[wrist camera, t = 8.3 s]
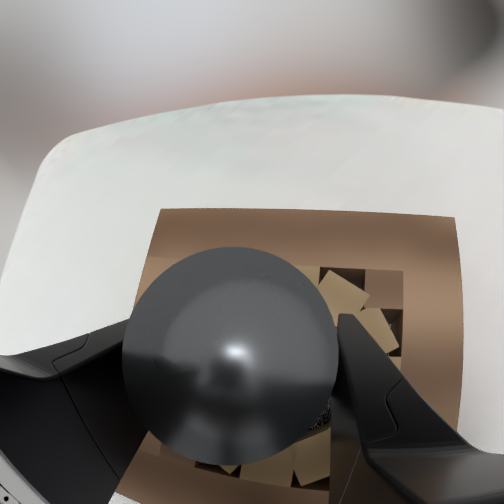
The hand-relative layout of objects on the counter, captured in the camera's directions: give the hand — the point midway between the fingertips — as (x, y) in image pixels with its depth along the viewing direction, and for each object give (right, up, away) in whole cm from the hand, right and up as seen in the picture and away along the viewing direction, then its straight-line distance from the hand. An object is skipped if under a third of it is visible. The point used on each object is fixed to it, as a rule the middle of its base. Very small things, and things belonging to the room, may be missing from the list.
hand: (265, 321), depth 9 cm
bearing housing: (+2, -4, +6) cm, 8 cm away
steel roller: (+1, -4, +5) cm, 7 cm away
